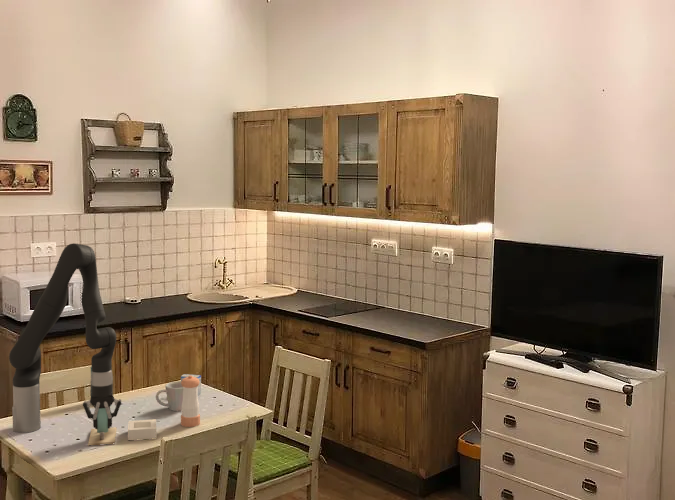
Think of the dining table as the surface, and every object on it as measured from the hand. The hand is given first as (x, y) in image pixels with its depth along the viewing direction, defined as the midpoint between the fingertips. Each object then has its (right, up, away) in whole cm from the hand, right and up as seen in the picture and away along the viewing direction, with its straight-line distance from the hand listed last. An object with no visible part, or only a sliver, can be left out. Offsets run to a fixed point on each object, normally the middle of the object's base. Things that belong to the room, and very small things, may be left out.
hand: (102, 427), depth 272 cm
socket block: (+14, -4, +4) cm, 14 cm away
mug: (+18, -1, +34) cm, 38 cm away
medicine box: (+22, +2, +53) cm, 57 cm away
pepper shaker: (+29, -3, +17) cm, 33 cm away
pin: (0, -1, 0) cm, 1 cm away
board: (0, -4, 0) cm, 4 cm away
